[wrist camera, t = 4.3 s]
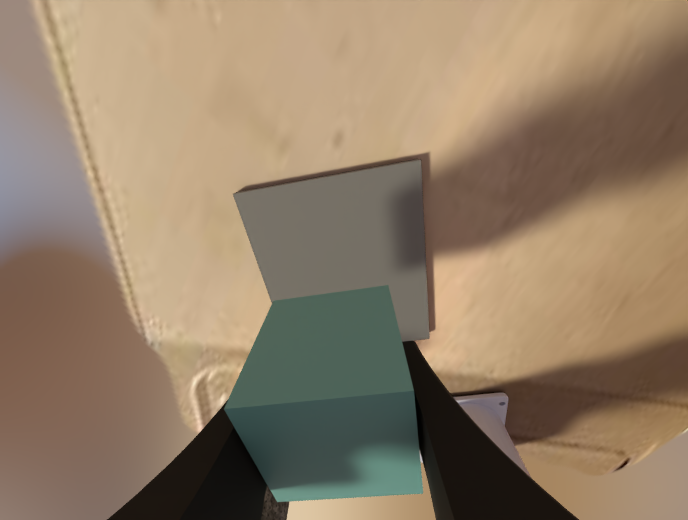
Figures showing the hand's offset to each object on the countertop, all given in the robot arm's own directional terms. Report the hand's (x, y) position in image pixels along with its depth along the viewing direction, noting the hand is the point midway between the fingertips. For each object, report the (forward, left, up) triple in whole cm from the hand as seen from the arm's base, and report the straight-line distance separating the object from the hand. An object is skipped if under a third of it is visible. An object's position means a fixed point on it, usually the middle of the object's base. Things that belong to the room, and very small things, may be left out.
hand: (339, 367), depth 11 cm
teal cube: (0, 0, -2) cm, 2 cm away
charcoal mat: (0, 0, -8) cm, 8 cm away
